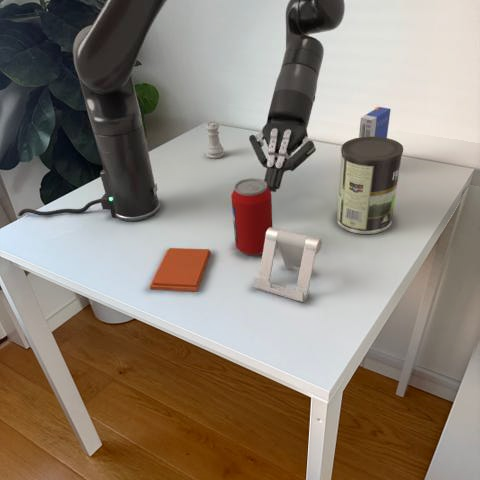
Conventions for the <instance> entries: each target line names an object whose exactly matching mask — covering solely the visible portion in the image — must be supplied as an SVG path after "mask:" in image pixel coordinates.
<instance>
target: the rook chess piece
mask: <svg viewBox="0 0 480 480" xmlns="http://www.w3.org/2000/svg"><path fill="white" fill-rule="evenodd" d="M219 128H220V125H219V124H218V121H217V120H213V121H212V120H209V121H207V122H206V125H205V129H206V130H207V135H208V144H207V147H206V156H207V158H209V159H213V160H214V159H215V160H216V159H221V158H222V157H224V155H225V151H224V149H225V148H224V146H222V143H221V141H220V137H219V134H220V132H219Z"/></svg>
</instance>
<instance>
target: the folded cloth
mask: <svg viewBox="0 0 480 480" xmlns="http://www.w3.org/2000/svg"><path fill="white" fill-rule="evenodd" d="M211 255H212V252H211V250H210V249H209V248H183V247H182V248H179V247H169V249H166V253H165V254H164V256H163V258H162V260H161V262H160V264H159V266H158V269H157V270H156V272H155V274H154V276H153V279H152V280H151V283H150V285H149V290H155V291H156V290H157V291H175V292H176V291H177V292H197V293H198V290H199V287H200V285H201V282H202V279H203V276H204V275H205V271H206V269H207V266H208V263H209V261H210V259H211V258H210V257H211Z"/></svg>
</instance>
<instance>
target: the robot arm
mask: <svg viewBox="0 0 480 480" xmlns="http://www.w3.org/2000/svg"><path fill="white" fill-rule="evenodd" d="M167 2H168V0H106V2H105V3H104V5H103V7H102V8H101V10H100V12H99V13H98V15H97V17H96V18H95V21H94V22H93V23H92V25H88V26H86V27H84V28H82V29H81V30H80V31H79V32H78V34H76V37H75V39H74V42H73V46H72V57H73V64H74V68H75V71H76V73H77V76H78V80H79V84H80V87H81V91H82V94H83V98H84V101H85V102H84V103H85V107H86V111H87V115H88V118H89V123H90V126H91V129H92V134H93V136H94V140H95V144H96V148H97V151H98V155H99V158H100V163H101V166H102V170H101V171H100V173H99V175H100V179H101V182H102V186H103V190H104V193H103V195H102V197H100V198H98V199H95V200H91V201H89V202H87V203H86V204H85V205H84V206H83V207H81V208H60V209H55V210H48V211H41V210H36V209H34V208H33V209H32V208H23V209H20V211H19V212H18V214H17V216H18V217H21V216H23V215H24V214H26V213H28V214H33V215H38V216H43V217H44V216H45V217H47V216H54V215H58V214H69V213H70V214H81V213H84V212H87V210H88V209H89V208H91V207H92V206H94V205H98V204H100V205H101V208H102V210H104V211H105V210H106V211H110V215H111V217H112V218H117V219H119V220H120V221H125V222H137V221H143V220H147V219H149V218H151V217H153V216H154V215H156V214H157V213H158V212H159V211H160V201H159V198H158V189H159V188H158V185H157V184H158V183H156V182H155V178H154V173H153V168H152V163H151V157H150V152H149V148H148V143H147V139H146V134H145V133H146V132H145V129H144V124H143V119H142V113H141V109H140V104H139V101H138V97H137V93H136V89H135V88H136V87H135V84H134V80H133V75H132V73H133V71H134V68H135V65H136V63H137V60H138V58H139V55H140V52H141V51H142V48H143V46H144V44H145V41H146V38H147V37H148V34H149V33H150V30H151V28H152V26H153V24H154V23H155V21H156V19H157V17H158V16H159V14H160V13H161V11H162V9H163V8H164V6H165V5H166V3H167ZM345 10H346V5H345V0H288V3H287V5H286V9H285V52H284V55H283V59H282V63H281V67H280V71H279V74H278V76H277V79H276V82H275V85H274V90H273V93H272V97H271V101H270V106H269V110H268V113H267V118H266V123H265V124H264V126H263V127H262V129H261V132H260V133H258V134H256V135H254V134H251V135H249V136H248V140H249V142H250V145H251V146H252V149H253V151H254V153H255V155H256V158H257V159H258V162H259V163H260V164H261V166H262V167H263V168H265V169H266V170H265V174H264V175H265V176H264V179H263V181H265V182H266V183H267V187H268V188H269V190H270V191H271V193H276V192H277V190H279V189H280V188H281V185H282V181H283V177H284V174H285V172H287V171H291V172H293V171H295V170H296V169H297V168H298V167H300V166H301V165H302V164H303V163H304V162H305V161H307V159H309V157H311V156H312V155H313V154H314V153H315V152H316V151H317V147H316V146H315V145H316V144H315V143H314V141H313V140H311V139H309V138H308V136H309V134H308V126H309V123H310V118H311V115H312V111H313V106H314V103H315V100H316V95H317V89H318V80H319V76H320V72H321V68H322V64H323V61H324V54H325V48H324V45H323V43H322V42H321V41H320V40H319V39H317V38H316V37H313V36H311V35H314V34H320V33H325V32H330V31H331V32H332V31H333V30H336V29H337V28H339V26H340V25H341V24H342V22H343V19H344V17H345ZM264 140H265V141H264ZM265 143H266V146H267V147H268V150H267V151H268V152H267V153H268V156H266V154H265V152H264V149H263V147H264V144H265Z"/></svg>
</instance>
